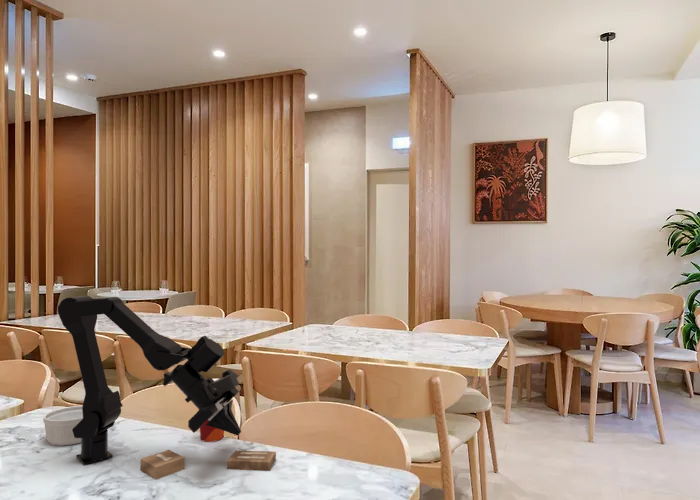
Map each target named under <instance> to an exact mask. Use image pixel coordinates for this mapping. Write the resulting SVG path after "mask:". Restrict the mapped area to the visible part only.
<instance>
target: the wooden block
mask: <svg viewBox="0 0 700 500" xmlns="http://www.w3.org/2000/svg"><path fill="white" fill-rule="evenodd" d="M276 461H277V452H276V451H269V450H268V451H266V450H265V451H264V450H234V451H233V452H232V453H231V455H230V456H229V457H228V459H227V460H226V470H234V471H235V470H236V471H237V470H238V471H262V472H264V471H265V472H270V471H271V469H272V467H273V466H274V464H275V462H276Z"/></svg>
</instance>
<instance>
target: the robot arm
mask: <svg viewBox="0 0 700 500" xmlns="http://www.w3.org/2000/svg"><path fill="white" fill-rule="evenodd" d="M57 314H58V317H59V319H60V321H61V324H62V326H63V327H64V328H65V329H66V330H67V332H68V333H69V334H70V335H71V337H72V341H73V345H74V350H75V353H76V358H77V362H78V367H79V371H80V375H81V380H82V383H83V388H84V393H85V395H84V399H83V402H82V405H81V406H82V412H83V419H82V420H81V421H80V422H79V423H78V424H77V425H76V426H75V427H74V428H73V429H72V431H73V434H74V437H75V438H81V443H80V448H81V449H80V451H81V452H80V453H79V454H76V455H75V456H76V457H75V458H76V459H77V460H78V461H79V462H80V463H81V464H82V465H84V466H85V465H90V464H94V463H96V462H97V463H98V462H101V461H104V460H107V459H111V458H113V457H114V456H113V454H112V453H111V452H110V451H109V450H108V449H109V448H108V447H109V446H108V441H109V439H108V438H109V437H108V436H109V435H108V434H109V432H108V431H109V429H110V428H113V427H114V424H115V423H116V421H117V420H118V419H119V417H120V416H121V414H122V407H124V405H123V404H122V402H121V399H120V398H121V397H120V396H121V395H120V391H119V390H115V391H113V390H112V389H110V387H109V386H108V385H109V384H108V383H107V378H106V374H105V369H104V365H103V361H102V356H101V353H100V347H99V345H98V340H97V336H96V331H95V328H96V324H97V320H98V316H99V315H104V316H106V317H107V318H108V319H109V320H110V321H112V322H113V323H114V324H115V325H116V326H117V327H118V328H119V329H120V330H122V331H123V332H124V333H125V335H127V336H128V337H129V338H130V339H131V340H133V342H135V344H137V345H138V346H139V347H140V348H141V351H142V353H143V355H144V359H146V360H147V362H148V364H149V365H151V366H152V368H153V369H154V370H156V371H166V370H168V369H171V368H172V367H174V366H175V367H174V368H173V370H171V371H167V372H165V373H164V374H163V382H162V383H163V384H162V385H163V386H164V387H166V386H168V385H169V384H172V383H174V385H176V387H177V388H178V389H179V390H180V391H181V392H182V393H183V394H184V395H185V396H186V397H185V399H184V401H185V402H186V403H190V402H191V403H192V405H194V406H195V408H197V409H198V411H196V413H195V414H194V415H193V416H192V417H191V418H190V419H189V420H188V421H187V422H188V423H187V425H188V426H187V428H188V429H190V431H192V433H193V434H194V433H196V432H197V431H198V430H200V426H202V425H203V424H204V423H205V422H206V421H207V419H208V420H209V422H208V423H207V424H206V426H211V427H214V428H217V429H221V430H224V432H226V433H229V434H231V435H234V436H239V435H240V434H241V433H242V430H241V428H240V425H239V423H238V421H237V420H236V419H237V418H235V415H234V413H233V410H232V407H233V402H234V400H233V398H234V397H235V396H236V395H237V394H238V393H239V390H238V388H236V387H237V386H239V385H240V383H239V380H238V378H239V374H238V373H237V374H236V372H235V371H233V370H231V369H227V370H225V371H223V372H222V375H221V377H219V378H217V379H218V380H216V381H214V380H213V379H214V378H211V377H208V378H206V377H205V376H204V375H203V374H202V372H203V373H208V372H209V371H210V370H211V369H212V368H213V367H214V366H215V365H216V364H217V363H218V362H219V361H220V360H221V359H222V358H223V357H224V356H225V350H224V348H223V347H222V346H221V344H220V343H219V342H216V341H215V340H213V339H211V338H208V337H207V336H206V335H203V336H201V337H200V338H199V339H198V340H197V342H196V343H195V344H194V345H193V346H192V347H191V348H190V347H185V346H181V345H180V344H179V343H178V342H176V341H174V340H173V339H171V338H170V337H169V336H165V335H162V334H160V333H158V332H156V331H155V330H154V329H153V328H152V327H151V326H150V325H148V324H147V323H146V322H145V321H144V320H143V319H141V317H139V315H137V314H136V313H135V312H134V311H133V310H132V309H131V308H130V307H128V306H127V305H126V304H125V303H124V302H123V300H122V299H121V298H120V297H118V296H109V297H102V298H100V297H99V298H93V297H92V296H90V295H78V296H71V297H66V298H64V299H62V300H61V301H60V303H59V304H58V306H57ZM186 360H187V361H186ZM184 361H185V362H184ZM182 362H184V363H183V364H180V363H182Z"/></svg>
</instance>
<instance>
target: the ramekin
mask: <svg viewBox="0 0 700 500" xmlns="http://www.w3.org/2000/svg"><path fill="white" fill-rule="evenodd" d="M82 406H83V405H73V406H67V407H62V408H59V409H55V410H51V411H49V412H47V413H46V414H44V416H43V422H42V423H44V430H45V436H46V437H45V438H46V440H47V442H49V444H50V445H53V446H71V445H77V444H81V438H75V437H74V434H73V431H72V429H73V428H74V427H75V426H76V425H77V424H78V423H79V422H80V421H81V420H82V419H83V412H82Z"/></svg>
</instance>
